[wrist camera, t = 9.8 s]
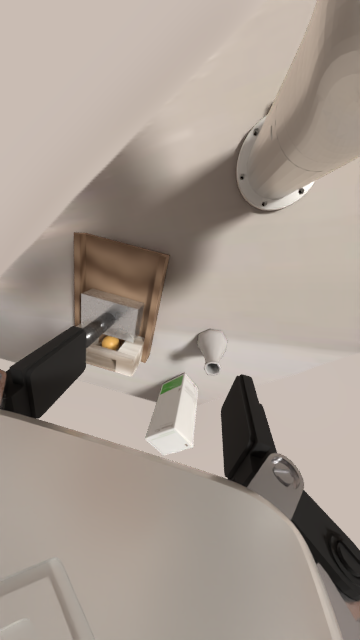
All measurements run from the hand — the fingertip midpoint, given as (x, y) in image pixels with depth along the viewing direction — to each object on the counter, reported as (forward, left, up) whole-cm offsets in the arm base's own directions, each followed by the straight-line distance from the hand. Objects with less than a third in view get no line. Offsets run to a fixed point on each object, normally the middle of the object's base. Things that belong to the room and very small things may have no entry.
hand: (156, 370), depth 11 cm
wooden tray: (+10, -15, -30) cm, 35 cm away
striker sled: (+12, -15, -29) cm, 35 cm away
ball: (+20, -15, -27) cm, 37 cm away
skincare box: (+30, +4, -31) cm, 43 cm away
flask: (+14, +8, -31) cm, 35 cm away
